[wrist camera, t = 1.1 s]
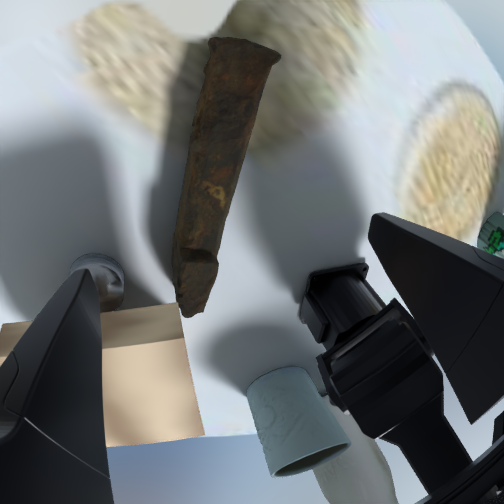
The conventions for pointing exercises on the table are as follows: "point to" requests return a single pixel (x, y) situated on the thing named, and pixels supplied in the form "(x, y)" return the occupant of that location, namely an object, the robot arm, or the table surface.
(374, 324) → the robot arm
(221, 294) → the table surface
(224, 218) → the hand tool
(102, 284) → the steel token
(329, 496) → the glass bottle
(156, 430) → the beige wooden box
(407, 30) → the table surface
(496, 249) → the can
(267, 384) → the grey green cup
